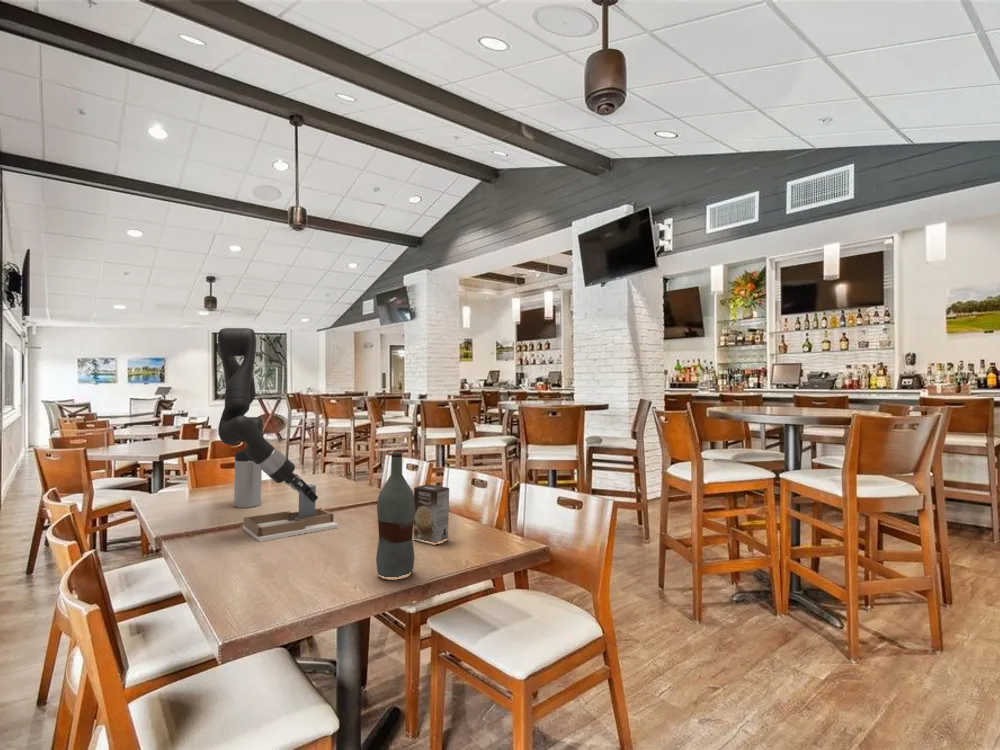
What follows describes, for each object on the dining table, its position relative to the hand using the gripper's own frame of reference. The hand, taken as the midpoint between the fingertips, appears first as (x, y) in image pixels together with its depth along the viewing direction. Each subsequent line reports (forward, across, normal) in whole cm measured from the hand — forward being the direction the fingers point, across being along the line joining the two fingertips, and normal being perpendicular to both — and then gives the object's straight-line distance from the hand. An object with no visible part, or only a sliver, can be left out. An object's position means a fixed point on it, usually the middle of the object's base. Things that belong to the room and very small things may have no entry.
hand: (313, 498), depth 175 cm
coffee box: (+21, -39, -9) cm, 45 cm away
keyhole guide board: (+1, 0, +11) cm, 11 cm away
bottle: (+6, -57, +7) cm, 58 cm away
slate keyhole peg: (+4, 0, +6) cm, 7 cm away
